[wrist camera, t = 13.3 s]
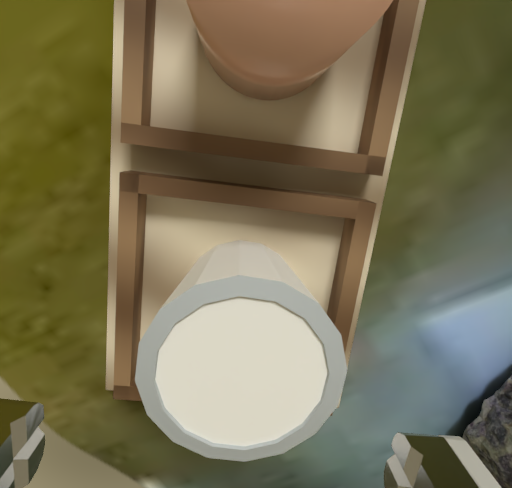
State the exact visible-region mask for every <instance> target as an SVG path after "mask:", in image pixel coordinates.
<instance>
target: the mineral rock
mask: <svg viewBox="0 0 512 488" xmlns="http://www.w3.org/2000/svg"><path fill="white" fill-rule="evenodd" d="M462 439H464V440H465V441H466V442H467V443H468V444H469V446H470V447H471V448H472V450H473V451H474V452H475V454H476V455H477V456H478V457H479V459H480V460H481V461H482V463H483V464H484V465H485V467H486V468H487V469H488V471H489V472H490V473H491V474H492V476H493V477H494V478H495V480H496V481H497V482H498V484H499V485H500V486H501V488H512V375H511V376H510V377H509V378H508V379H507V380H506V382H505V383H504V384H503V385H502V386H501V388H500V389H499V390H497V391H496V392H495V393H494V395H493V396H491V397H489V398H488V399H485V400H484V402H483V405H482V410H481V412H480V415H479V416H478V417H477V418H476V419H475V420H474V421H473V422H472V423H471V424H469V425H468V426H467V427H466V429H465V431H464V434H463V437H462Z"/></svg>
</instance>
